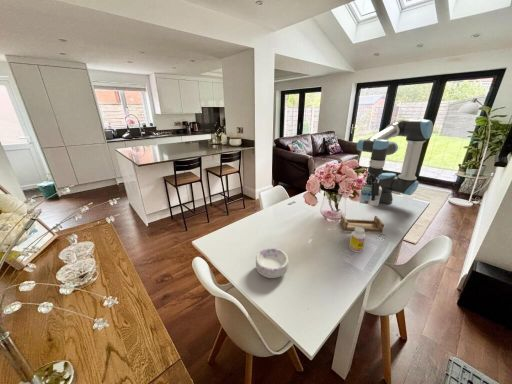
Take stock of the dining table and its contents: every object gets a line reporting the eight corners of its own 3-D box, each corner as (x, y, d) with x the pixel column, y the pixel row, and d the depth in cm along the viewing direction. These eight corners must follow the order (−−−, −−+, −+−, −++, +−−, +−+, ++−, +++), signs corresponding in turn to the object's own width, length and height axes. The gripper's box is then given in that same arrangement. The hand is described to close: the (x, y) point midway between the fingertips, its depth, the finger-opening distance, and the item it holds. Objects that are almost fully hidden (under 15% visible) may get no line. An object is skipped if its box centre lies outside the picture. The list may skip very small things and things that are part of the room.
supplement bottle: (356, 254, 111) (360, 233, 106) (346, 247, 117) (350, 227, 112) (365, 250, 114) (369, 230, 109) (354, 244, 119) (358, 224, 115)
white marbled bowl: (264, 287, 91) (264, 273, 88) (251, 265, 104) (250, 252, 101) (294, 277, 97) (295, 263, 94) (277, 257, 110) (278, 244, 107)
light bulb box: (359, 203, 130) (362, 187, 126) (358, 199, 136) (361, 183, 132) (378, 206, 127) (382, 189, 123) (377, 201, 133) (380, 185, 129)
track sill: (340, 221, 143) (341, 214, 141) (374, 223, 140) (376, 215, 138) (344, 231, 132) (346, 222, 130) (382, 233, 130) (384, 224, 127)
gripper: (363, 162, 133) (356, 195, 141) (376, 171, 114) (368, 208, 122) (375, 163, 132) (368, 196, 140) (391, 171, 113) (381, 209, 121)
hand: (368, 202), depth 131 cm, fingers closed on light bulb box, 8 cm apart
